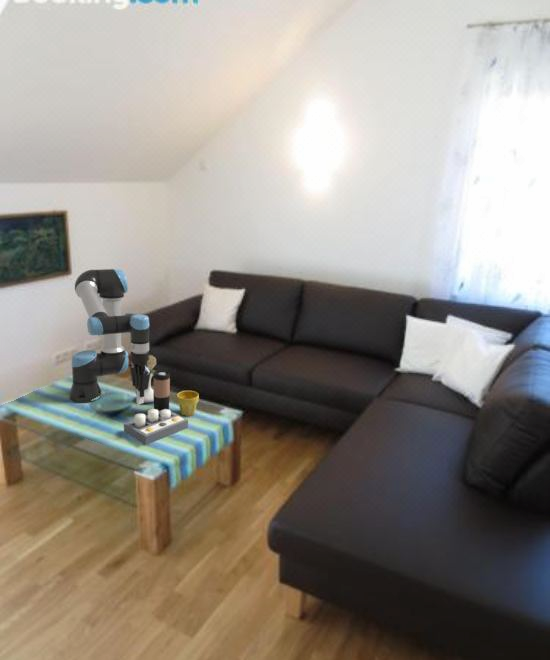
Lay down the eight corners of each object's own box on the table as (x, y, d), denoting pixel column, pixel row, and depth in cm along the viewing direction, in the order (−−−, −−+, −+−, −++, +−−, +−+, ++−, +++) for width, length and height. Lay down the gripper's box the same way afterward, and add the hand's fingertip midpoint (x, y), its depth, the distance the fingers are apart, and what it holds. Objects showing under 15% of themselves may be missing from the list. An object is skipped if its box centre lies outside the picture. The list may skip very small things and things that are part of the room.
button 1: (132, 425, 217) (132, 415, 216) (141, 422, 221) (141, 412, 220) (138, 429, 215) (138, 419, 213) (147, 426, 218) (147, 415, 217)
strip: (139, 431, 212) (139, 429, 212) (178, 416, 228) (178, 415, 228) (145, 434, 209) (145, 433, 209) (184, 419, 225) (184, 418, 225)
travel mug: (155, 415, 236) (155, 376, 231) (151, 408, 242) (151, 370, 237) (171, 413, 240) (171, 374, 234) (166, 406, 246) (167, 369, 241)
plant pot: (173, 415, 237) (173, 396, 235) (182, 407, 247) (182, 389, 244) (193, 419, 235) (193, 400, 232) (201, 410, 245) (202, 392, 242)
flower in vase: (132, 398, 252) (132, 352, 246) (152, 393, 260) (152, 348, 253) (145, 407, 243) (145, 359, 237) (165, 402, 251) (166, 355, 244)
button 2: (145, 421, 223) (145, 410, 221) (154, 418, 226) (154, 408, 225) (152, 424, 220) (152, 414, 219) (160, 421, 223) (160, 411, 222)
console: (123, 431, 219) (123, 423, 218) (165, 416, 236) (165, 408, 235) (145, 445, 209) (145, 436, 208) (187, 428, 226) (188, 420, 225)
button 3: (158, 421, 229) (158, 411, 227) (166, 418, 232) (166, 408, 231) (164, 424, 226) (164, 414, 224) (172, 421, 229) (172, 411, 228)
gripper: (123, 349, 209) (124, 400, 216) (141, 357, 202) (142, 410, 208) (138, 346, 215) (138, 396, 221) (156, 353, 207) (156, 405, 213)
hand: (140, 403), depth 215 cm, fingers closed
